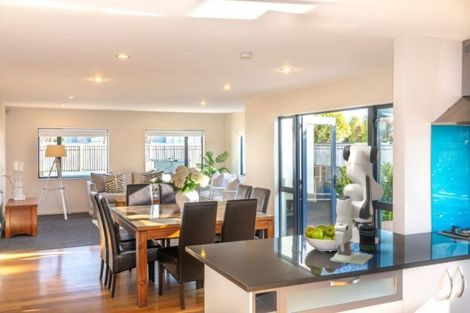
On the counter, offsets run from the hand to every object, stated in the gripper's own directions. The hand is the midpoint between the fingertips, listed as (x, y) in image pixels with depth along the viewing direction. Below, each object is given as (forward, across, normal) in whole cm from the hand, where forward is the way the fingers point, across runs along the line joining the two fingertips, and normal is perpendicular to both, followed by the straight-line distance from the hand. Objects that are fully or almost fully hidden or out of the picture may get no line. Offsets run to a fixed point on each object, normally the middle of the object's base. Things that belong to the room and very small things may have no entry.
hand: (344, 250), depth 244 cm
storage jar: (+6, -27, +6) cm, 28 cm away
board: (+5, -4, +3) cm, 7 cm away
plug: (+4, 0, 0) cm, 4 cm away
